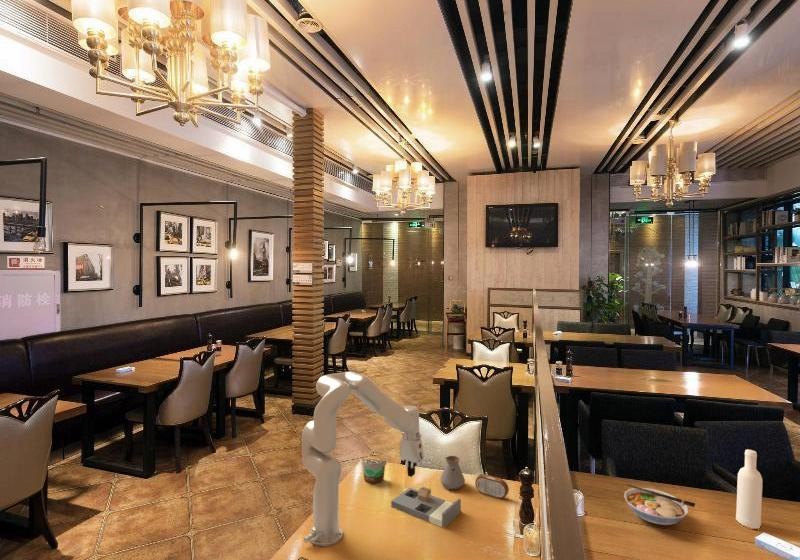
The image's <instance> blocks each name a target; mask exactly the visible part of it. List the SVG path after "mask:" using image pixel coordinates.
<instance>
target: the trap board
mask: <svg viewBox="0 0 800 560" xmlns="http://www.w3.org/2000/svg"><path fill="white" fill-rule="evenodd" d="M418 490H419V489H418ZM418 490H417V489H415V488H413V487H408V488H406V490H404V491H402V492H401V493H400V494H398V495H397V496H396V497H395V498H393V499H392V500H390V501H391V502H390V504H391V506H390V507H391V508H393V509H396V510H398V509H399V511H401V512H403V511H404V513H407V514H408V515H411V516H413V517H416V518H417V519H421V520H423V521H425V520H426V522H427V523H428V522H429V523H430V522H431V524H434V525H435V524H436V526H439V527H440V528H443V529H444V528H446V527H447V526H448V525H449V524H450V523H451V522H452V521H453V520H454V519H455V518H456V517H457V516H459V514H460V513H461V511H462V499H461V498H459V497H458V498H457V499H456V500H455V501H454V502H451V501H448V500H447V499H446V500H445V499H443V498H440V497H438V496H434V495H432V494H431V498H430V499H429V500H428V501H427V502H425V501H422V500H419V499H418Z"/></svg>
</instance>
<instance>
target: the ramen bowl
mask: <svg viewBox="0 0 800 560" xmlns="http://www.w3.org/2000/svg"><path fill="white" fill-rule="evenodd" d="M626 486H628V487H631V488H629V489H627V490H626V491H624V497H623V498H624V499H625V501H626V503H627V504H628V506H629V508H630V509H631V511H632V512H633V513H634V514H635V515H637V516H638V517H640V518H641V519H642V520H644V521H647V522H649V523H653V524H655V525H661V526H668V525H669V526H670V525H675V524H678V523H679V522H680V521H682V520H683V519H684V518H685V517H686V516H687V515H688V514H689V508H688V506H689V507H692V508H695V506H696V503H695V502H692V501H689V500H685V499H680V498H678V497H677V496H675V495H672V494H671V493H668V492H665V491H662V490H658V489H655V488H649V487H639V486H638V487H637V486H634V485H629V484H626Z"/></svg>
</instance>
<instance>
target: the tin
mask: <svg viewBox="0 0 800 560" xmlns="http://www.w3.org/2000/svg"><path fill="white" fill-rule="evenodd" d="M475 487H476V489H477V490H478V491H479V492H480V493H481V494H483V495H487V496H490V497H493V498H496V499H500V500H501V499H504V498H505V497H506V496H507V495H508V494H509V489H510V488H509V486H508V484H507V482H506V481H505V480H504V479H502V478H500V477H496V476H493V475H489V474H485V473H480V474H479V475H478V476H477V477H476V478H475Z"/></svg>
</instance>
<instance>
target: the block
mask: <svg viewBox="0 0 800 560" xmlns="http://www.w3.org/2000/svg"><path fill="white" fill-rule="evenodd" d="M431 495H432V489H431V488H430V487H427V486H424V485H423V486H422V487H420V488H419V489H418V499H419V500H422V501H425V502H427V501H428V500H429V499H430V498H431Z"/></svg>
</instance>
